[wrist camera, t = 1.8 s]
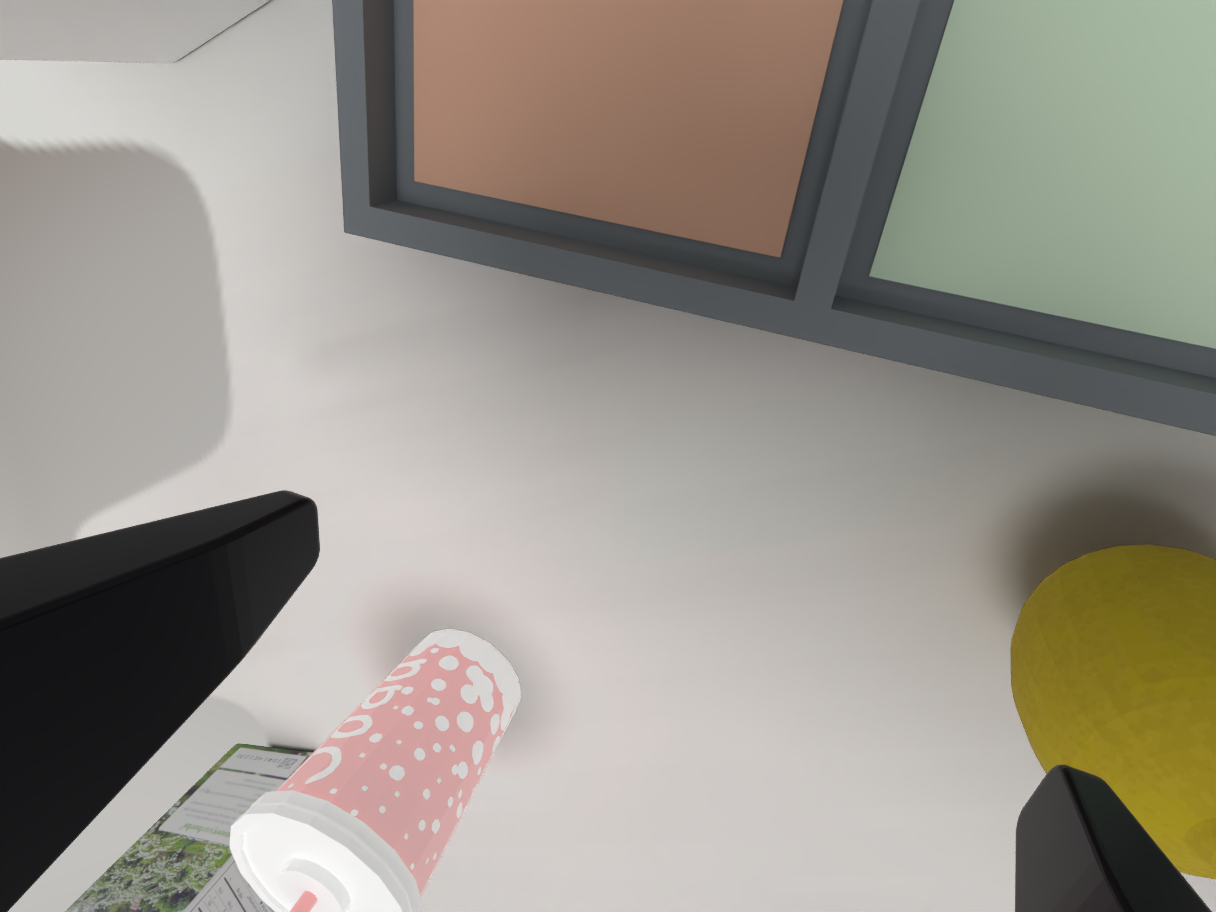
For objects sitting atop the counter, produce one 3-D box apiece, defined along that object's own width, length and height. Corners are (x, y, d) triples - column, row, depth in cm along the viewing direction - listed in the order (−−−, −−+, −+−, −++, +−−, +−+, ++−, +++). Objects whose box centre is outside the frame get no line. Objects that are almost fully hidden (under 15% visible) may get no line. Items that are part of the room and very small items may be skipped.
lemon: (1314, 558, 17) (1593, 878, 10) (1134, 699, 20) (1257, 1018, 13) (1090, 444, 17) (1213, 675, 11) (947, 597, 20) (973, 854, 14)
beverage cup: (512, 613, 26) (204, 1045, 15) (557, 741, 29) (321, 1204, 17) (378, 611, 29) (21, 981, 17) (429, 729, 31) (146, 1127, 19)
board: (1986, -368, 9) (2250, -475, 8) (1382, 440, 15) (1448, 489, 14) (381, -381, 15) (309, -445, 13) (392, 218, 21) (344, 232, 19)
